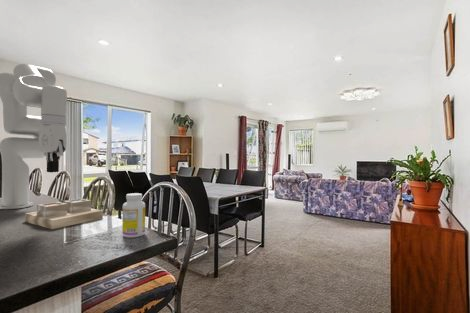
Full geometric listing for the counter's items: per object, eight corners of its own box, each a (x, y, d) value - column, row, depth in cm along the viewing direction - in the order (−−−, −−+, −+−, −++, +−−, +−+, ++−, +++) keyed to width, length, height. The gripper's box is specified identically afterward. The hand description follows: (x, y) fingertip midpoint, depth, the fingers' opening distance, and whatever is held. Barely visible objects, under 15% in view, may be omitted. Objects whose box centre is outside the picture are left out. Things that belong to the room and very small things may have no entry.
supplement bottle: (137, 230, 87) (138, 192, 87) (149, 234, 82) (149, 194, 82) (118, 235, 81) (118, 194, 81) (129, 240, 77) (129, 196, 77)
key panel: (25, 221, 95) (25, 203, 95) (75, 212, 110) (75, 196, 110) (52, 229, 86) (52, 209, 86) (102, 218, 102) (102, 201, 102)
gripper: (31, 120, 94) (30, 171, 95) (53, 119, 87) (52, 174, 87) (53, 122, 101) (52, 170, 101) (76, 121, 94) (75, 172, 94)
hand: (52, 171), depth 94 cm, fingers closed
